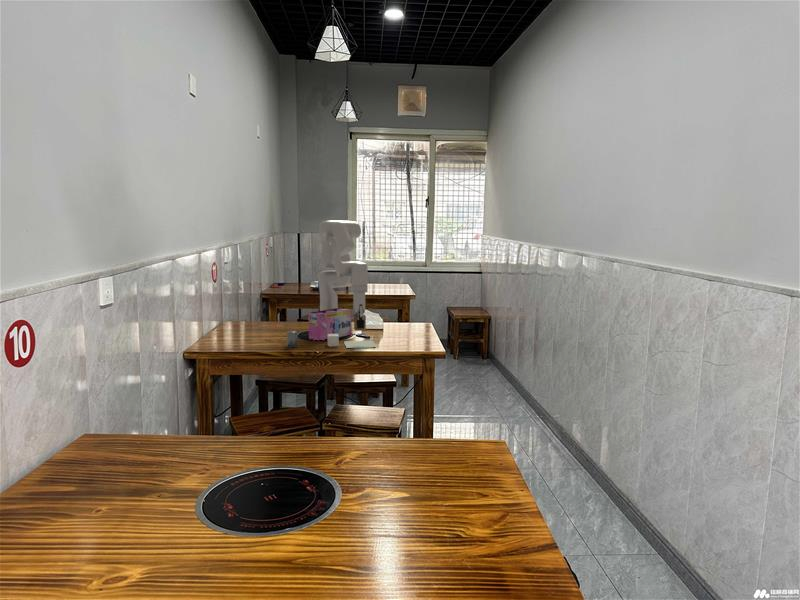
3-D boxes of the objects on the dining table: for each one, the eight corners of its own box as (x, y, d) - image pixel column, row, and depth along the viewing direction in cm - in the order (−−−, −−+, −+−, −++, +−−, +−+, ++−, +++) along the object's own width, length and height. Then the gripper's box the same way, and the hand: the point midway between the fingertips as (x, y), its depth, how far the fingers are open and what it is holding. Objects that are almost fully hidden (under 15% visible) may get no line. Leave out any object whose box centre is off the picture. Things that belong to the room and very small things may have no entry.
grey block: (327, 344, 267) (327, 334, 267) (338, 344, 268) (337, 333, 267) (328, 346, 262) (328, 336, 262) (338, 346, 263) (338, 335, 263)
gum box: (343, 332, 296) (343, 307, 294) (353, 334, 291) (353, 308, 289) (308, 339, 278) (307, 312, 276) (318, 341, 273) (318, 314, 271)
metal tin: (287, 345, 264) (286, 330, 263) (297, 345, 265) (297, 330, 264) (286, 347, 259) (286, 333, 258) (297, 347, 260) (297, 332, 259)
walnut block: (354, 328, 266) (353, 314, 265) (364, 328, 267) (364, 314, 266) (355, 330, 261) (355, 316, 260) (365, 330, 262) (365, 315, 261)
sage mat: (343, 342, 271) (343, 341, 271) (372, 341, 274) (372, 340, 274) (346, 348, 258) (346, 347, 257) (376, 347, 260) (376, 346, 260)
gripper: (349, 287, 269) (350, 324, 272) (353, 291, 253) (353, 330, 255) (365, 286, 271) (365, 323, 273) (369, 290, 254) (369, 330, 256)
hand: (359, 326), depth 264 cm, fingers closed on walnut block, 5 cm apart
